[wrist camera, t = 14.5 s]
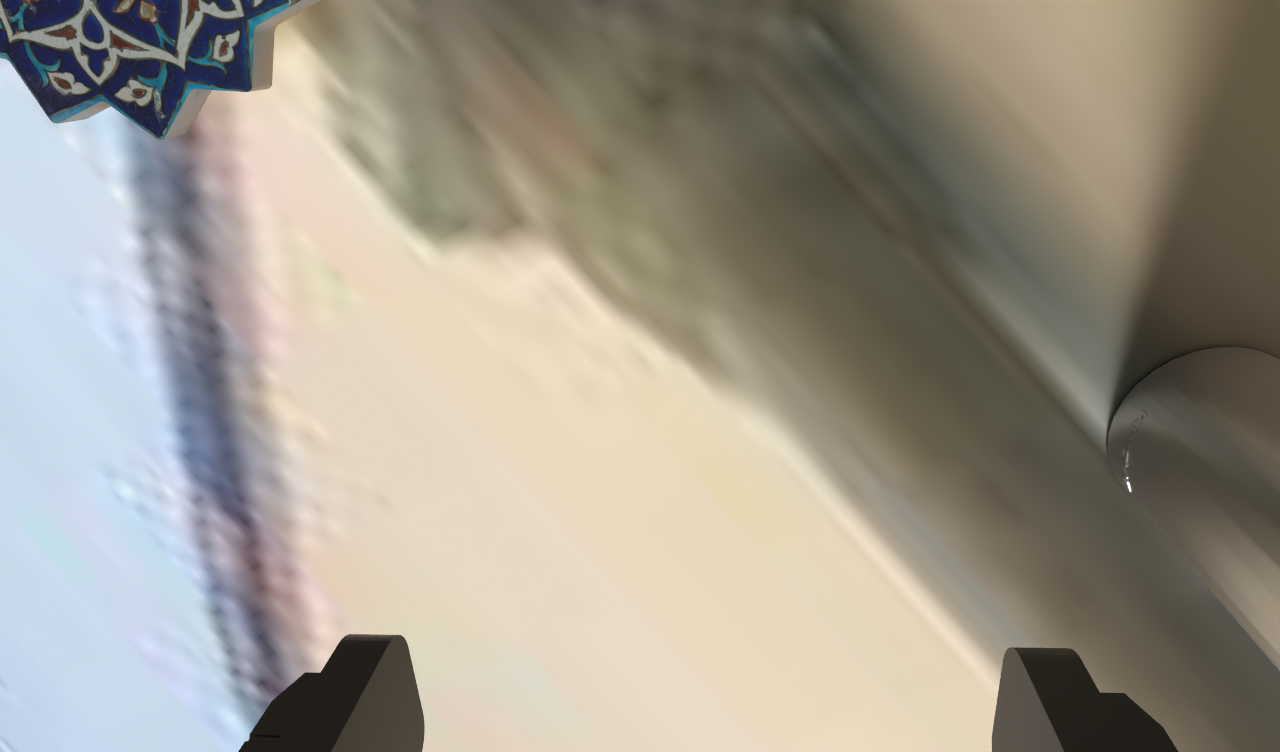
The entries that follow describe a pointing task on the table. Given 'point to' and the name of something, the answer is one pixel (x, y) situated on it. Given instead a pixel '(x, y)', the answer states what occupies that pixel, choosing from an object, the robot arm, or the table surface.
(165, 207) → the table surface
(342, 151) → the table surface
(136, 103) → the decorative tile
